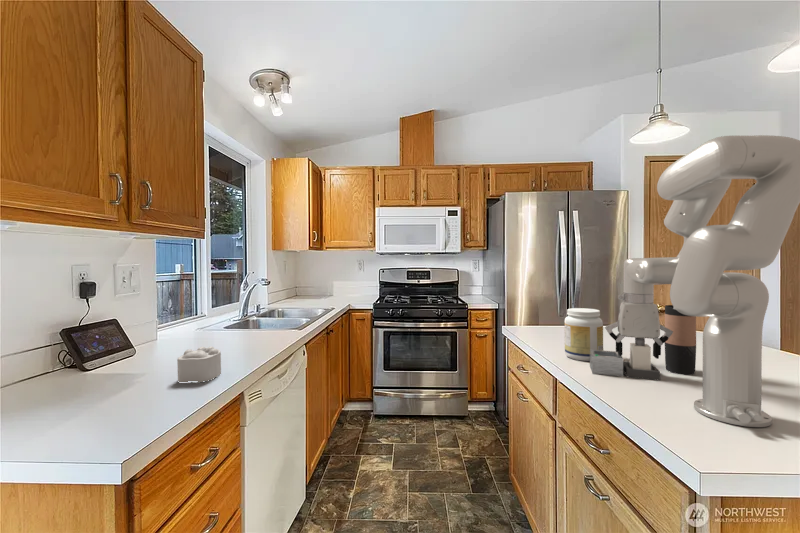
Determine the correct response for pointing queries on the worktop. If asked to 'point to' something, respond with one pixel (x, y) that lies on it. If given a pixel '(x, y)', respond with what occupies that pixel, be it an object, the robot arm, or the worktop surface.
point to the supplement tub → (583, 333)
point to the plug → (640, 355)
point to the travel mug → (680, 342)
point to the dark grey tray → (641, 372)
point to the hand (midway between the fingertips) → (637, 355)
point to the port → (606, 363)
